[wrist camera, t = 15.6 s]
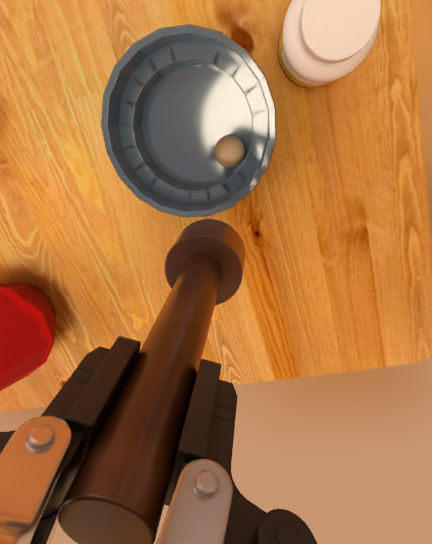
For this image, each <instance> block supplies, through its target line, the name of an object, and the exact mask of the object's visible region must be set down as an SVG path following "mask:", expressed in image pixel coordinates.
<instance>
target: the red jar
mask: <svg viewBox="0 0 432 544" xmlns="http://www.w3.org/2000/svg"><path fill="white" fill-rule="evenodd" d="M55 318H56V313H55V311H54V308H53V306H52V303H51V301H50V298H49V297H48V296H47V295H45V294H44V293H43V292H42V291H40V290H39V289H38V288H37V287H36V286H34V285H29V284H23V283H0V391H1V390H3V389H4V388H6V387H8V386H10V385H12V384H13V383H15V382H17V381H19V380H21V379H22V378H24V377H26V376H28V375H29V374H31V373H32V372H33V371H34V370H36V369H37V368H38V367H40V366H41V365H42V364H44V363H45V362H46V361H47V358H48V356H49V353H50V351H51V349H52V346H53V344H54V337H55Z"/></svg>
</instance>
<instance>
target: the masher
mask: <svg viewBox="0 0 432 544" xmlns="http://www.w3.org/2000/svg"><path fill="white" fill-rule="evenodd" d="M244 260H245V248H244V244H243V241H242V239H241V237H240V236H239V234H238V233H237V232H236V231H235V230H234V229H233V228H232V227H231V226H229V225H228V224H226V223H224V222H221V221H218V220H212V219H206V220H200V221H197V222H194V223H192V224H190V225H189V226H188V227H186V228H185V229H184V230H183V232H182V233H181V234H180V236H179V237H178V239H177V240H176V242H175V243H174V245H173V246H172V248H171V249H170V251H169V253H168V254H167V257H166V261H165V275H166V278H167V281H168V283H169V285H170V287H171V288H172V290H171V292H170V294H169V296H168V298H167V300H166V302H165V304H164V306H163V307H162V309H161V311H160V313H159V315H158V317H157V319H156V321H155V323H154V325H153V327H152V329H151V331H150V333H149V335H148V336H147V338H146V340H145V342H144V344H143V346H142V348H141V350H140V352H139V354H138V356H137V358H136V360H135V362H134V364H133V366H132V368H131V370H130V372H129V374H128V376H127V378H126V380H125V381H124V383H123V385H122V387H121V389H120V391H119V393H118V395H117V397H116V399H115V401H114V403H113V405H112V407H111V409H110V411H109V412H108V414H107V416H106V418H105V420H104V422H103V424H102V426H101V428H100V430H99V432H98V434H97V436H96V438H95V440H94V442H93V443H92V445H91V447H90V449H89V451H88V452H87V454H86V456H85V458H84V460H83V462H82V464H81V466H80V468H79V470H78V472H77V474H76V476H75V478H74V479H73V481H72V483H71V485H70V487H69V489H68V491H67V493H66V495H65V497H64V499H63V501H62V503H61V505H60V507H59V509H58V521H59V524H60V526H61V528H62V529H63V531H64V532H65V533H66V534H67V535H68V536H69V537H70V538H71V539H73V540H74V541H75V542H77V543H78V544H153V543H154V541H155V538H156V534H157V530H158V526H159V522H160V518H161V514H162V510H163V506H164V503H165V499H166V495H167V491H168V487H169V483H170V478H171V472H172V468H173V464H174V460H175V457H176V453H177V449H178V445H179V441H180V437H181V433H182V429H183V426H184V422H185V418H186V414H187V410H188V406H189V402H190V399H191V395H192V391H193V387H194V383H195V379H196V375H197V372H198V368H199V364H200V361H201V358H202V354H203V350H204V346H205V342H206V338H207V334H208V330H209V326H210V322H211V319H212V315H213V311H214V307H215V305H217V304H220V303H223V302H225V301H227V300H228V299H230V298H231V297H232V296H233V295H234V294H235V293H236V291H237V290H238V288H239V286H240V284H241V281H242V275H243V268H244Z"/></svg>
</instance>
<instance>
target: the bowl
mask: <svg viewBox="0 0 432 544" xmlns="http://www.w3.org/2000/svg"><path fill="white" fill-rule="evenodd" d="M101 124H102V125H101V126H102V131H103V136H104V141H105V146H106V150H107V154H108V156H109V158H110V160H111V162H112V164H113V166H114V168H115V170H116V172H117V174H118V176H119V178H120V179H121V180H122V181H123V182H124V183H125V184H126V185H127V187H128V188H129V189H130V190H131V191H132V192H133V193H134V194H135V195H136V196H137V197H138V198H139V199H141V200H142V201H144V202H146V203H147V204H149V205H151V206H152V207H154V208H156V209H157V210H159V211H161V212H165V213H169V214H173V215H177V216H181V217H201V216H211V215H213V214H216V213H218V212H221V211H223V210H226V209H228V208H231V207H233V206H234V205H235V204H237V203H238V202H239V201H240V200H241V199H243V198H244V197H245V196H246V195H248V194H249V193H250V192H251V191H252V190H253V189H254V188H255V186H256V184H257V183H258V181H259V180H260V178H261V177H262V175H263V174H264V172H265V171H266V169H267V167H268V165H269V161H270V158H271V154H272V151H273V147H274V144H275V140H276V111H275V104H274V101H273V98H272V95H271V92H270V89H269V86H268V83H267V80H266V77H265V75H264V74H263V72H262V71H261V70H260V68H259V67H258V65H257V64H256V63H255V61H254V60H253V58H252V57H251V56H250V54H249V53H248V52H247V51H246V49H244V48H243V47H241V46H240V45H238V44H237V43H236V42H234V41H233V40H231V39H230V38H228V37H227V36H226V35H224V34H223V33H221V32H219V31H215V30H211V29H207V28H203V27H199V26H195V25H190V24H188V25H180V26H173V27H166V28H160V29H158V30H156V31H154V32H153V33H151V34H149V35H147V36H146V37H144V38H142V39H140V40H139V41H137V42H135V43H134V44H133V45H132V46H131V47H130V48H129V49H128V51H127V52H126V53H125V54H124V55H123V57H122V58H121V59H120V60H119V61H118V63H117V64H116V65H115V67H114V69H113V71H112V74H111V76H110V79H109V81H108V84H107V87H106V89H105V92H104V95H103V107H102V120H101ZM227 135H233V136H236V137H238V138H239V139H240V140H241V141H242V142H243V144H244V147H245V156H244V159H243V160H242V162H241V163H240V164H239V165H237V166H235V167H232V168H227V167H224V166H222V165H221V164H219V163H218V161H217V160H216V157H215V153H214V152H215V146H216V144H217V142H218V141H219V140H220V139H221V138H222V137H224V136H227Z"/></svg>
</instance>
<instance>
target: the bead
mask: <svg viewBox="0 0 432 544" xmlns="http://www.w3.org/2000/svg"><path fill="white" fill-rule="evenodd" d="M214 153H215V157H216V160H217V161H218V163H219V164H221V165H222V166H224V167H227V168H232V167H235V166H237V165H239V164H240V163H241V162H242V160H243V159H244V156H245V147H244V144H243V142H242V141H241V140H240V139H239V138H238V137H236V136H233V135H227V136H224V137H222V138H221V139H220V140H219V141H218V142H217V144H216V146H215V152H214Z"/></svg>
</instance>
